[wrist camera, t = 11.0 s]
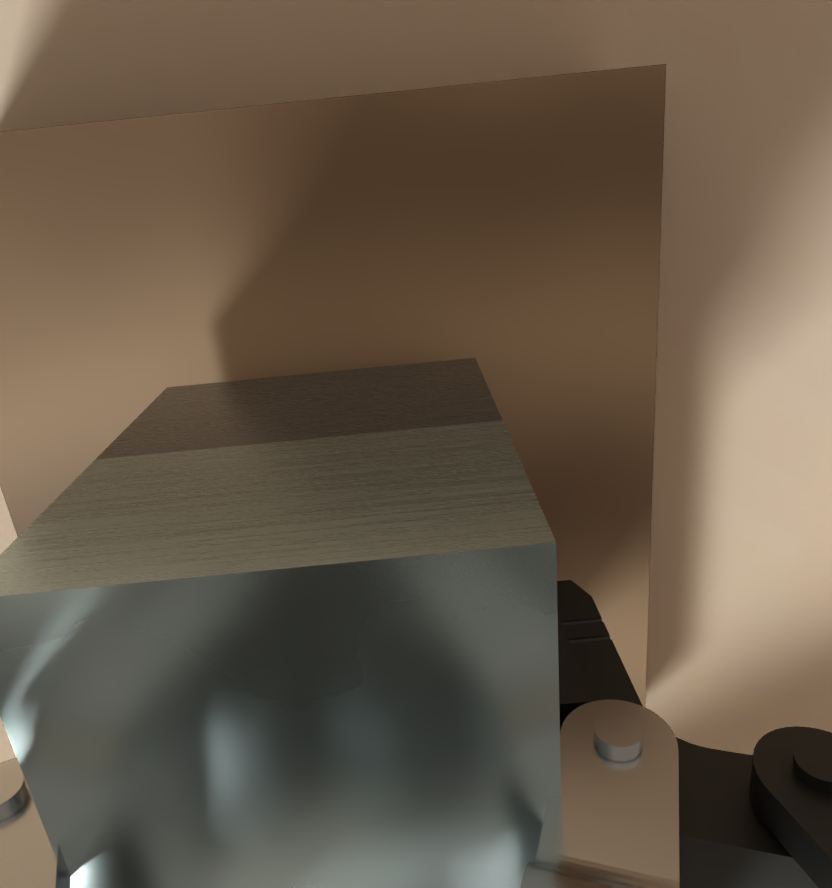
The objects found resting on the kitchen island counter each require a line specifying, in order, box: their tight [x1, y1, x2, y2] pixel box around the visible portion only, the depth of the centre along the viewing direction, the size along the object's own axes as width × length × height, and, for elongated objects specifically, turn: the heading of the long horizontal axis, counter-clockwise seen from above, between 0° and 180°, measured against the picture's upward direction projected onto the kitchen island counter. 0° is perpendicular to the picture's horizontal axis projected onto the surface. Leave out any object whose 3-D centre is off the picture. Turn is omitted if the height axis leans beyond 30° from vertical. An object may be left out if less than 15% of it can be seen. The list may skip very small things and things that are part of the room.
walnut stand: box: [0, 64, 666, 707], centre depth 15 cm, size 16×12×3 cm
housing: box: [0, 358, 561, 888], centre depth 10 cm, size 5×8×6 cm, turn 5°
